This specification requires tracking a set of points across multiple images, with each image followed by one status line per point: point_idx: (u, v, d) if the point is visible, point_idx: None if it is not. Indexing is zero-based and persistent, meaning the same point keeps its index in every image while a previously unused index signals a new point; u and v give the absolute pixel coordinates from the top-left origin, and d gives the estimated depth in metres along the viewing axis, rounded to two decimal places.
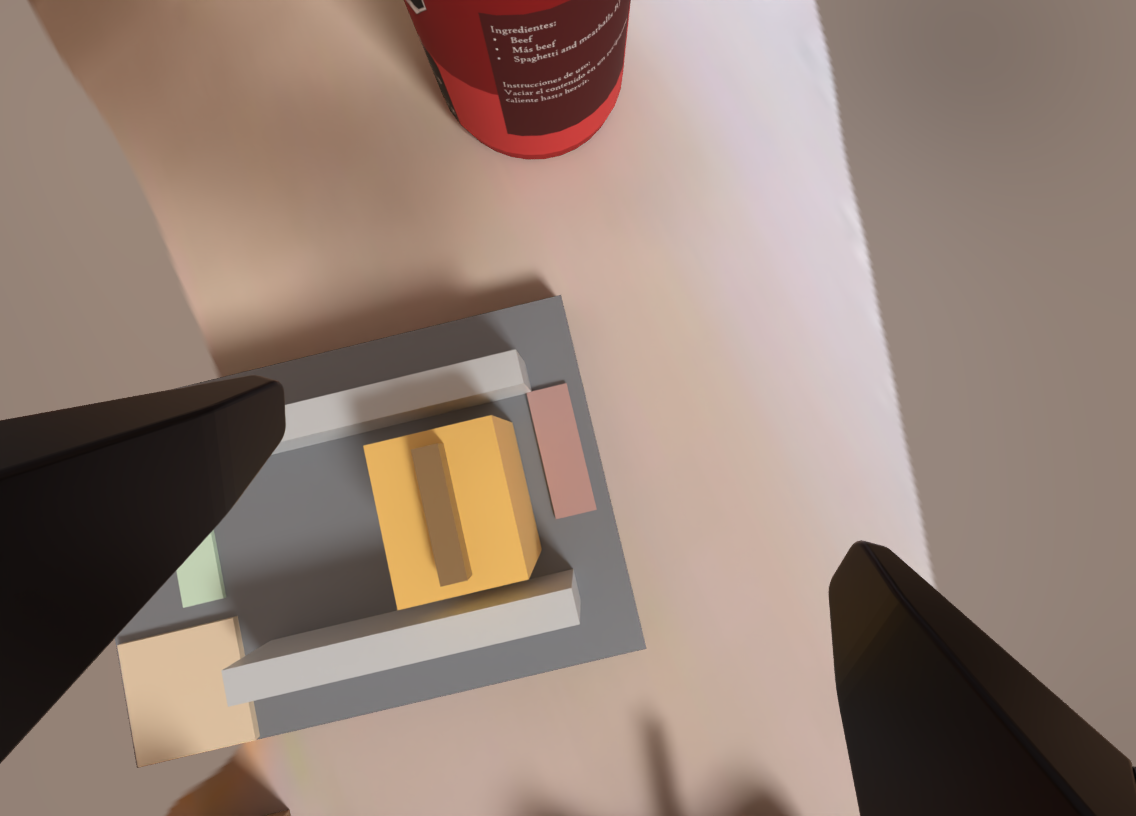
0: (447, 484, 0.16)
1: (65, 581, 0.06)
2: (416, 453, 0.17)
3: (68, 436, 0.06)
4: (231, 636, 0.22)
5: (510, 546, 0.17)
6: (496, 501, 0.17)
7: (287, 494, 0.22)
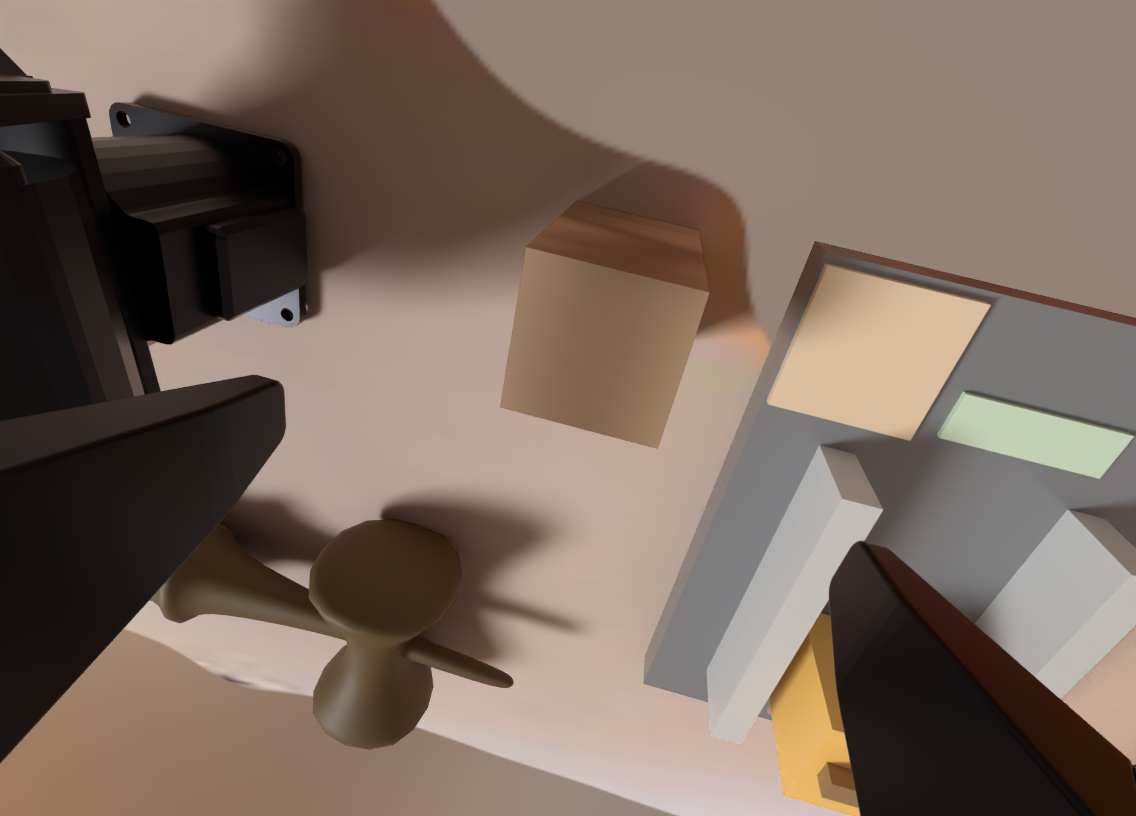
0: None
1: (65, 581, 0.06)
2: None
3: (68, 436, 0.06)
4: (892, 431, 0.18)
5: (817, 799, 0.20)
6: (858, 809, 0.19)
7: (986, 534, 0.20)
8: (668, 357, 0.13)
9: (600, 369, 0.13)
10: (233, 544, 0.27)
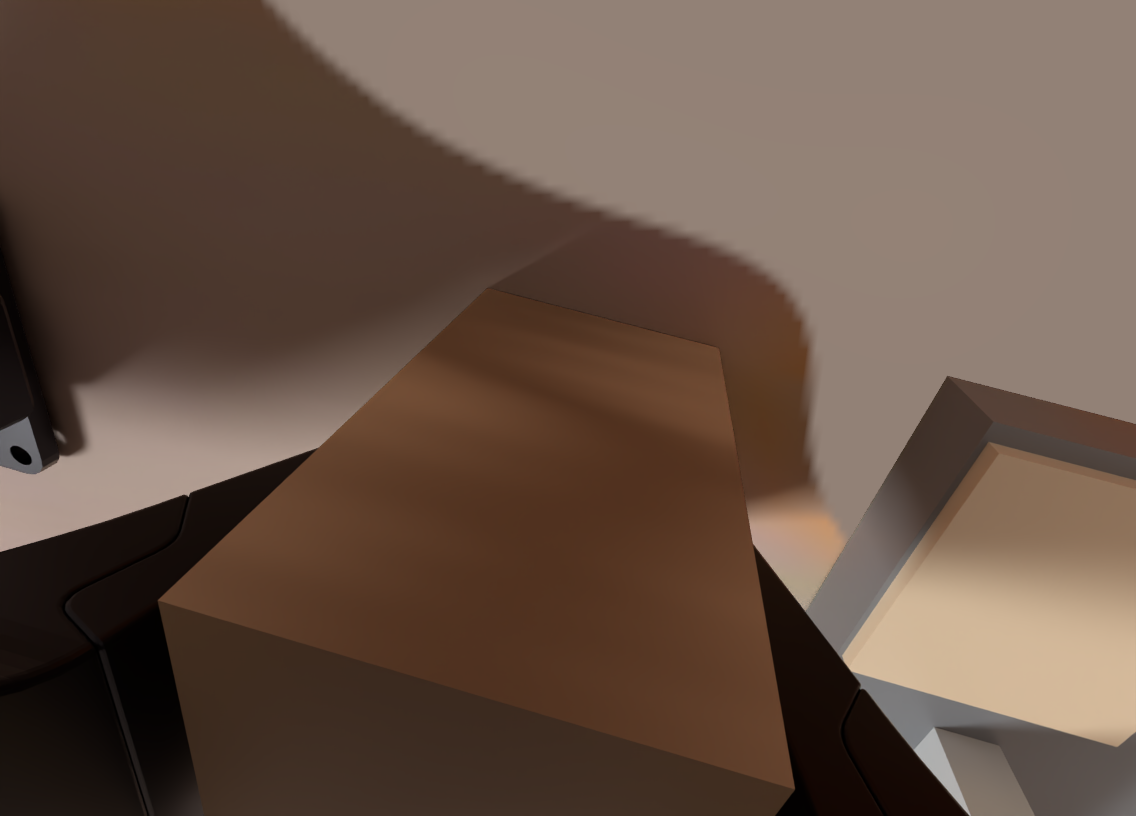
0: None
1: None
2: None
3: None
4: (1084, 730, 0.10)
5: None
6: None
7: None
8: None
9: None
10: None
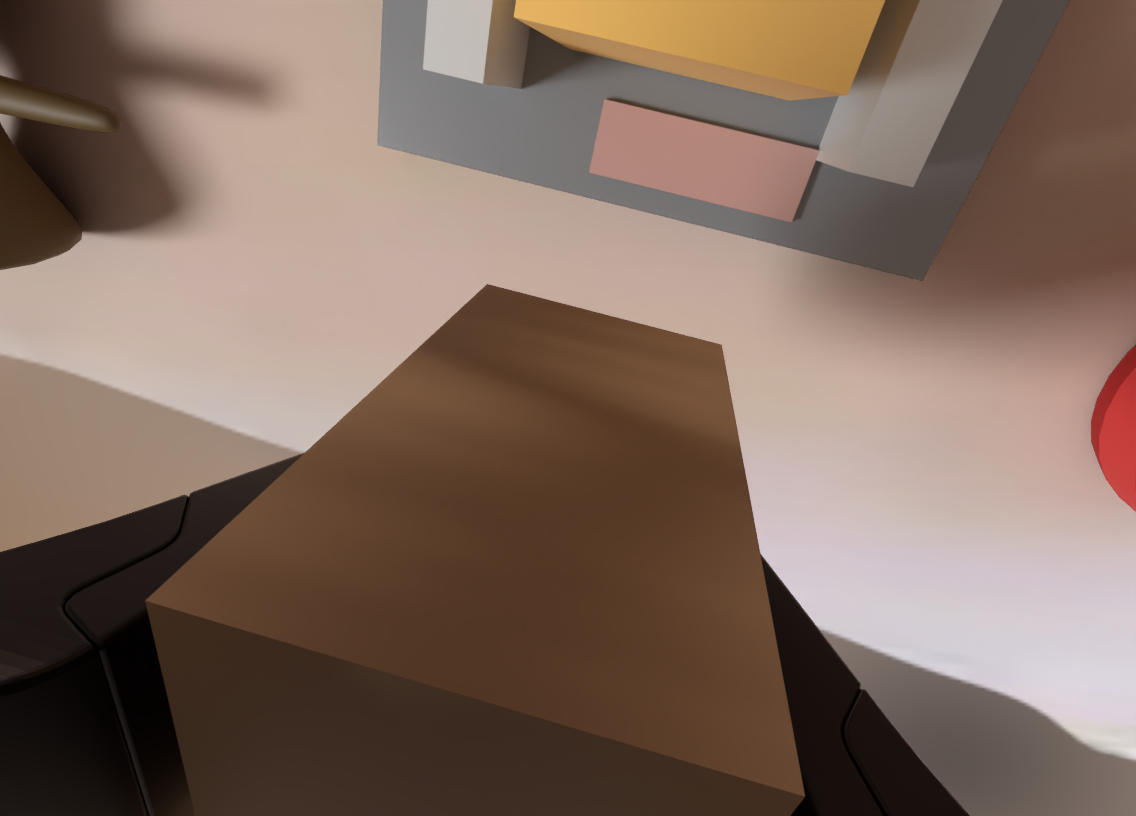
0: None
1: None
2: None
3: None
4: None
5: (585, 7, 0.08)
6: (682, 20, 0.08)
7: None
8: None
9: None
10: None
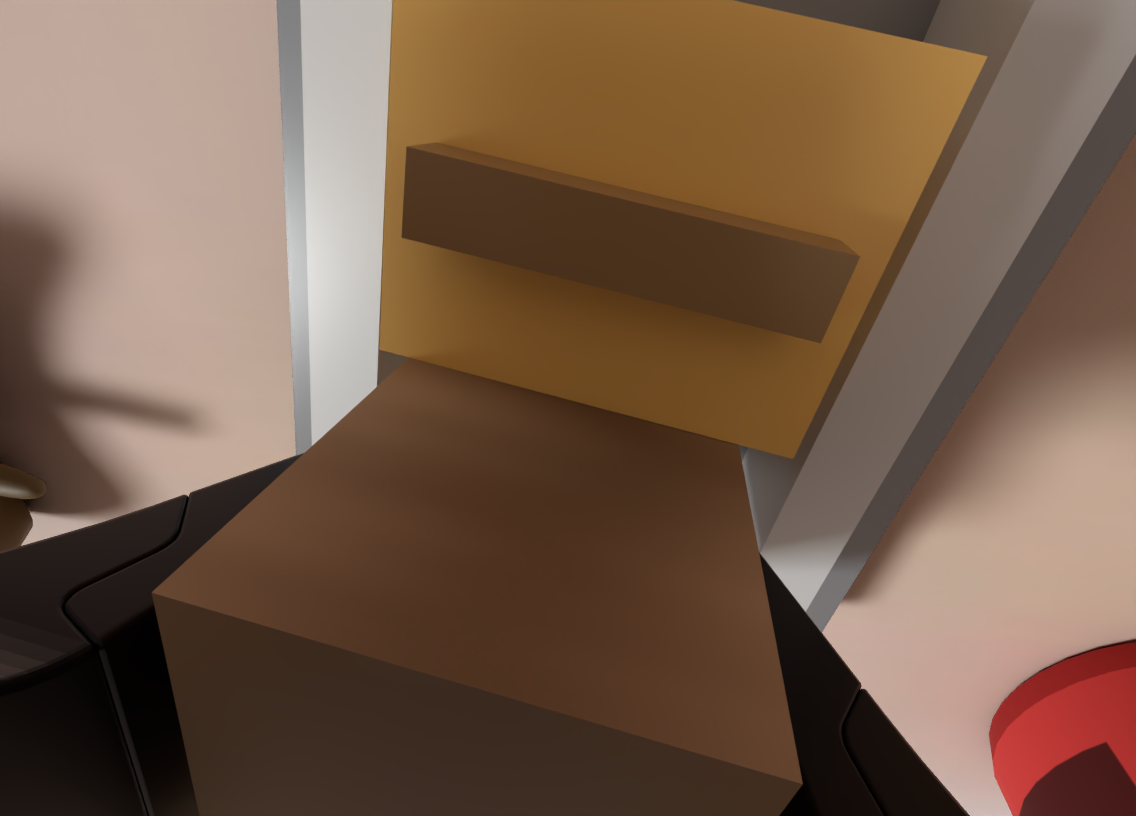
0: (688, 305, 0.05)
1: None
2: (835, 266, 0.05)
3: None
4: None
5: (465, 347, 0.07)
6: (584, 369, 0.06)
7: None
8: None
9: None
10: None
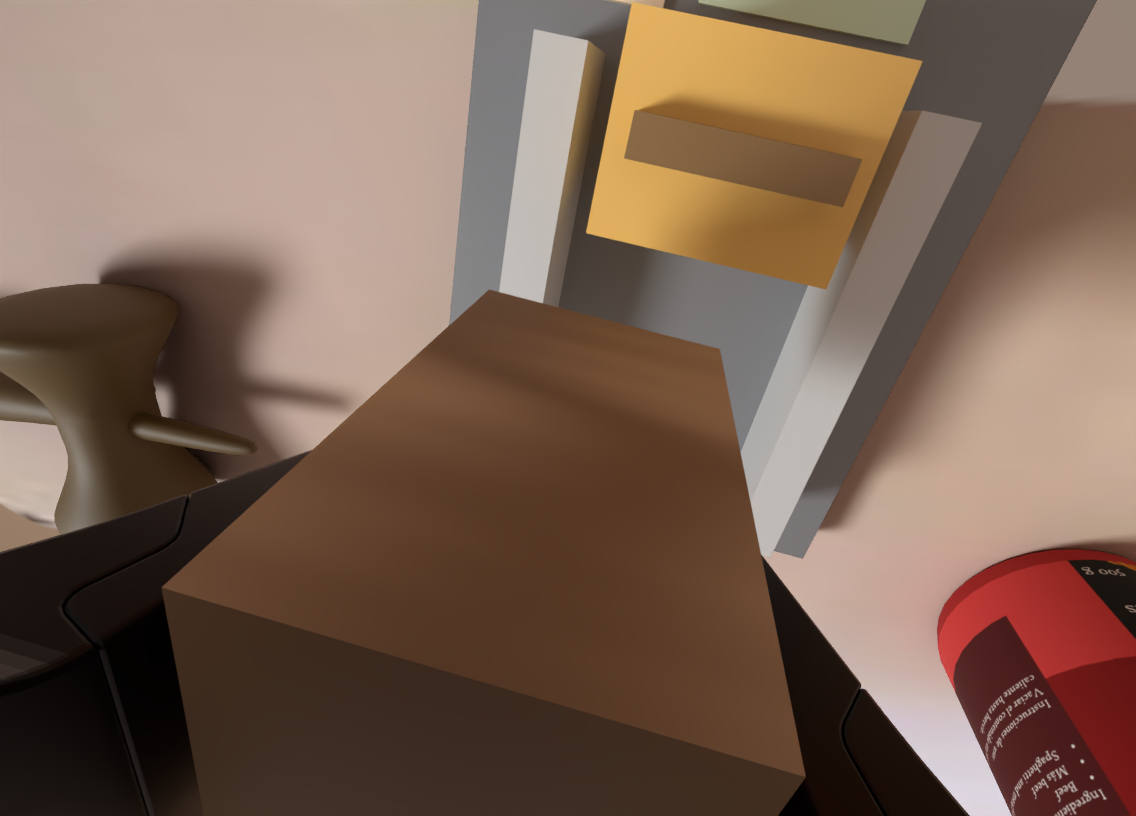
0: (773, 191, 0.10)
1: None
2: (850, 165, 0.10)
3: None
4: None
5: (638, 229, 0.12)
6: (707, 239, 0.11)
7: None
8: None
9: None
10: None
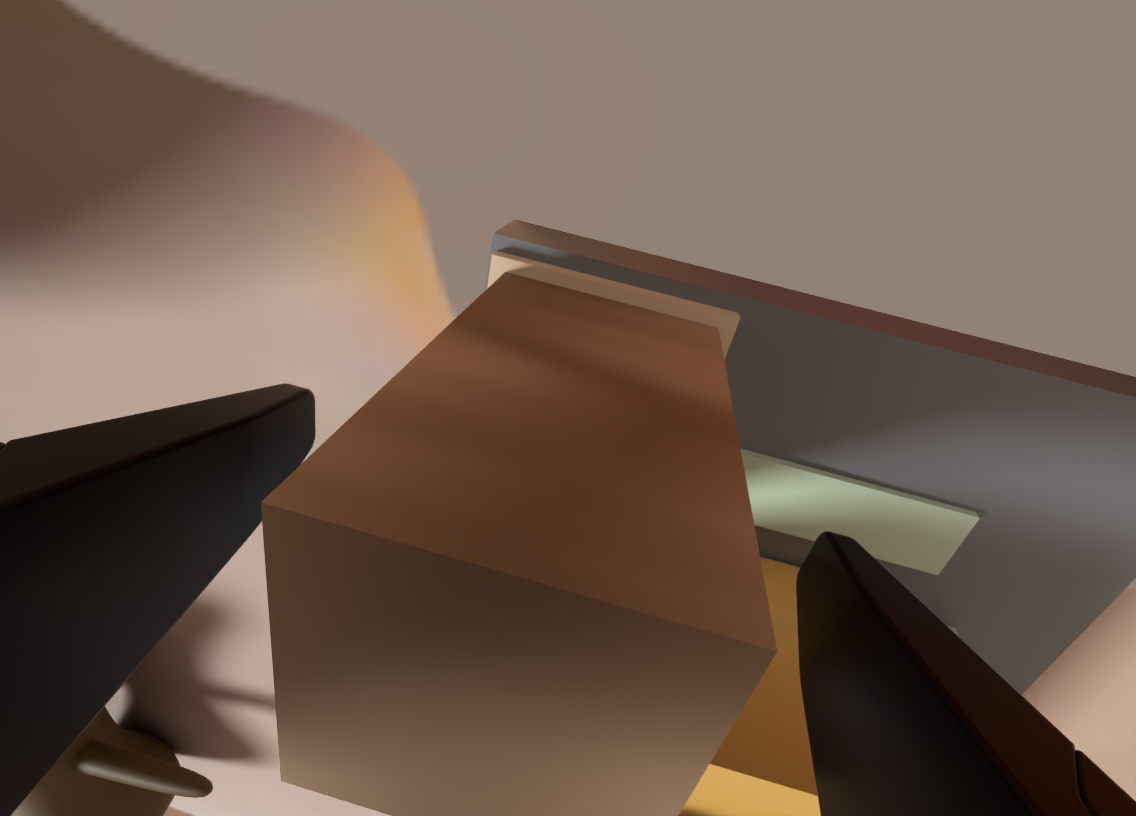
0: None
1: (109, 594, 0.06)
2: None
3: (113, 448, 0.06)
4: None
5: None
6: None
7: None
8: (658, 758, 0.05)
9: (491, 756, 0.05)
10: None
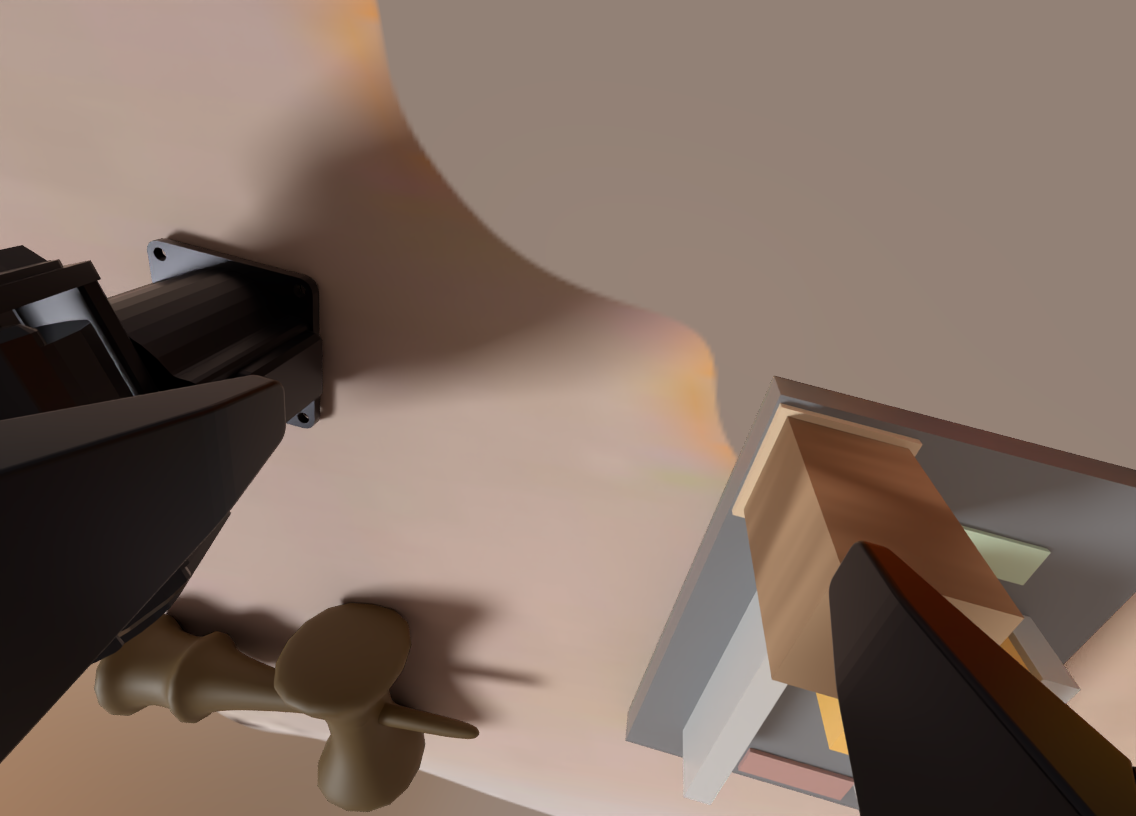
0: None
1: (65, 581, 0.06)
2: None
3: (68, 436, 0.06)
4: None
5: None
6: None
7: None
8: None
9: None
10: (228, 647, 0.31)
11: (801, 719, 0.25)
